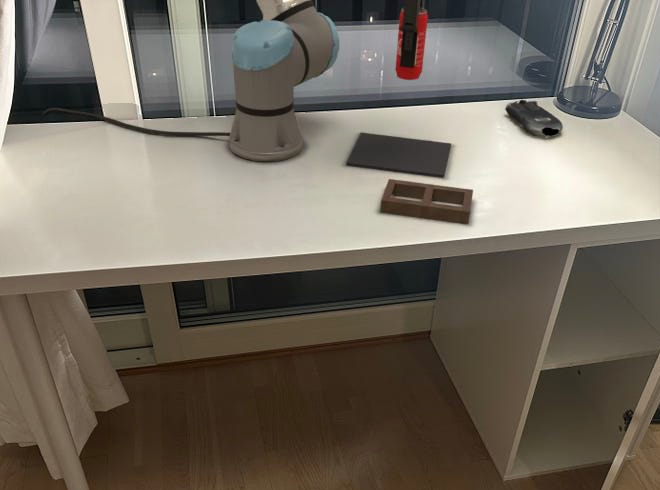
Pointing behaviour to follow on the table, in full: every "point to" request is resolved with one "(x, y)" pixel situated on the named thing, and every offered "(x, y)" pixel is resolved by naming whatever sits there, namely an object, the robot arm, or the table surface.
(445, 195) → the tray
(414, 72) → the beverage can
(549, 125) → the electronic device
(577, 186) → the table surface
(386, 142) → the mat
